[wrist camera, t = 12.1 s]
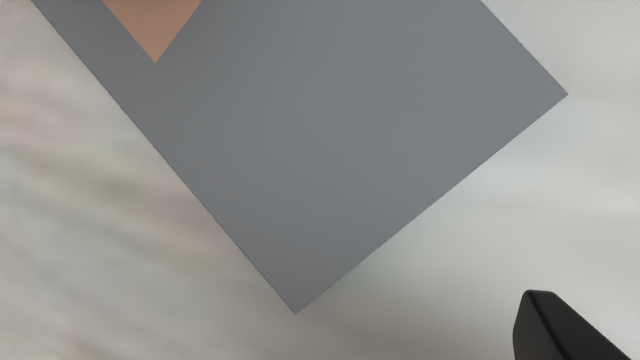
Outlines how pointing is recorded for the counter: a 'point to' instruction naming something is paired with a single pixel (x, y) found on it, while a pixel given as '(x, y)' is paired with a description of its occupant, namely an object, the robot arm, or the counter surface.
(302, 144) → the slate board
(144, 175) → the counter surface
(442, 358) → the counter surface
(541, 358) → the robot arm
